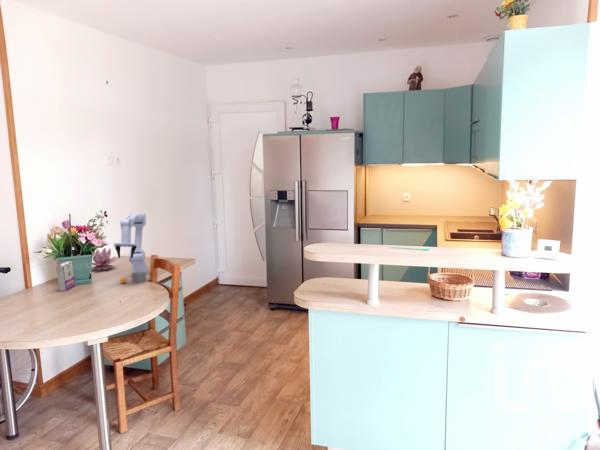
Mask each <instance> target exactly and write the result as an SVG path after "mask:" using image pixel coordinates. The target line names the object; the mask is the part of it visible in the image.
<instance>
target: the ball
mask: <svg viewBox="0 0 600 450" xmlns="http://www.w3.org/2000/svg"><path fill="white" fill-rule="evenodd" d="M119 282H120V284H123V285H124V284H125V283H126V282H127V278H126V277H120V279H119Z"/></svg>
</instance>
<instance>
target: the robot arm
mask: <svg viewBox="0 0 600 450" xmlns="http://www.w3.org/2000/svg"><path fill="white" fill-rule="evenodd" d="M146 222H147V216H146V213H145V212H143V213H141V212H140V213H139V212H138V213H132V212H131V213H130V214H129V215H127V217H126V218H123V219H121V220H120V230H121V237H120V238H121V239H120V240H121V241H120V242H119V243H118V242H115V243H113V247H114V248H115V250H116V251H115V252H116V253H117V257H118V259H120V258H121V248H130V251H129V255H128V261H129V263H131V267H132V268H131V269H132V273H135V272H137V271H141V272H145V274H146V275H148V274H149V272H148V268H147V266H148V265H147V262H145V261H146V253H145V251H144V250H143V249H142V241H143V240H142V239H143V231H144V230H143V229H144V226H146V224H147V223H146ZM133 227H134V228H135V231H134V241H133V243H132V228H133ZM129 276H130V277H132V274H130V275H129Z"/></svg>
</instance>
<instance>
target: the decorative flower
mask: <svg viewBox="0 0 600 450" xmlns="http://www.w3.org/2000/svg"><path fill="white" fill-rule="evenodd" d="M95 251H96V250H95ZM111 253H112V251H111V248H109V249H108V251H107V250H106V248H105V247H104V248H103V249H102V251H101V252H99V250H98V251H96V252H94V257H93V260H92V261H93V262H92V265H91V266H93V267H92V268H91V271H93V270H95V269H96V272H97V271H98V272H101V271H102V270H103V271H105V270H109V268H110V269H113V268H114V265H113V264H112V263H114V262H115V261H116V260H117V255H115V256H113V257H111Z"/></svg>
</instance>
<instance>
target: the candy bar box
mask: <svg viewBox="0 0 600 450" xmlns="http://www.w3.org/2000/svg"><path fill="white" fill-rule="evenodd" d="M55 270H56V276H57V284H58V291H59V292H67V291H68V290H71V289H72V288H74V287H76V281H75V273H74V264H73V261H64V262H62V263H60V264H57V265H55Z"/></svg>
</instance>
